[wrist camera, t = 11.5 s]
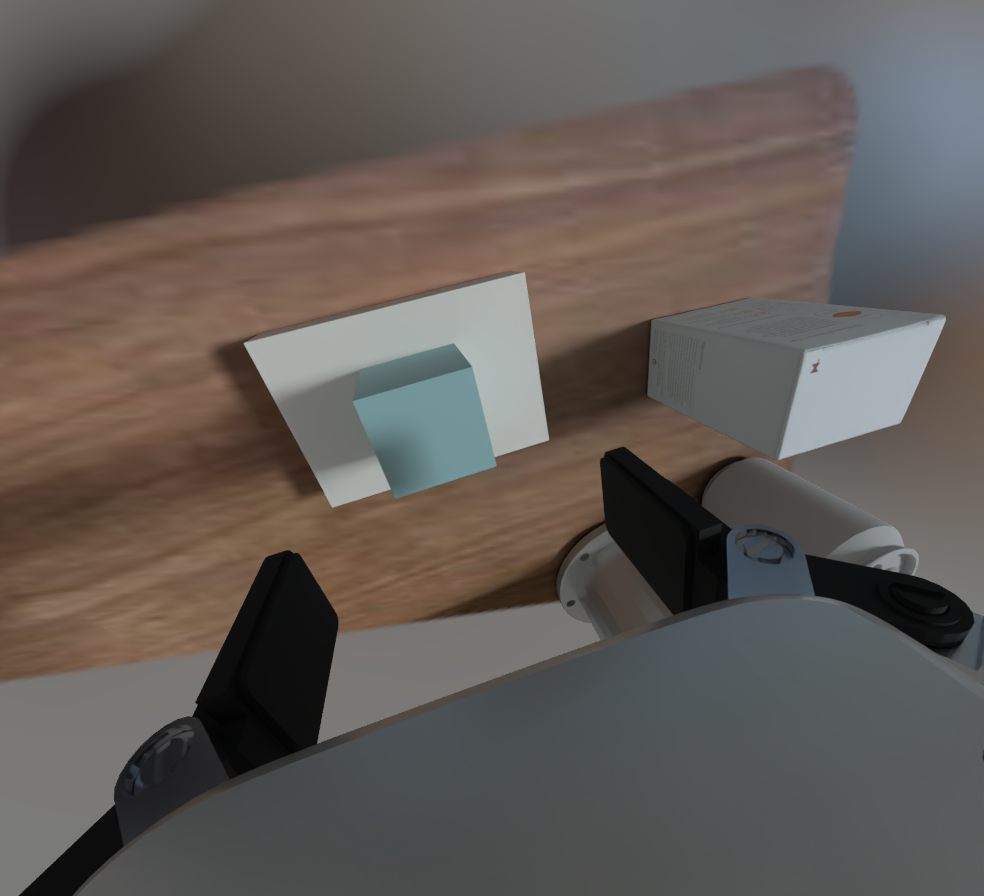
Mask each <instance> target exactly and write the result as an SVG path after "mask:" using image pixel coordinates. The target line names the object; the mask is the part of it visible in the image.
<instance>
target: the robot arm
mask: <svg viewBox="0 0 984 896" xmlns="http://www.w3.org/2000/svg"><path fill="white" fill-rule="evenodd" d="M600 467H601V479H602V490H603V502H604V513H605V524H603V525H601V526H599V527H598V528H596V529H594V530H593V531H591V532H590V533H589V534H587V535H586V536H585V537H584V538H582V539H581V540H580V541H579V542H578V543H577V544H576V545H575V546H574V547H573V548H572V550H571V551H570V552H569V554H568V555H567V557H566V558H565V559H564V561H563V563H562V565H561V568H560V570H559V573H558V577H557V586H556V590H557V594H558V598H559V600H560V602H561V604H562V606H563V608H564V609H565V610H566V611H567V613H568V614H569V615H571V616H572V617H574V618H575V619H577V620H580V621H583V622H588V623H592V625H593V627H594V629H595V631H596V633H597V634H598V636H599V638H600V640H601V641H599V642H595V643H592V644H590V645H587V646H584V647H582V648H578V649H576V650H573V651H570V652H567V653H564V654H562V655H559V656H556V657H553V658H550V659H548V660H545V661H542V662H539V663H537V664H534V665H531V666H528V667H526V668H523V669H520V670H517V671H514V672H512V673H509V674H506V675H503V676H501V677H498V678H495V679H492V680H490V681H487V682H484V683H481V684H479V685H476V686H473V687H470V688H468V689H465V690H462V691H459V692H457V693H454V694H451V695H448V696H446V697H443V698H440V699H437V700H435V701H432V702H429V703H426V704H424V705H421V706H418V707H416V708H413V709H410V710H407V711H405V712H402V713H399V714H397V715H394V716H391V717H388V718H386V719H383V720H380V721H378V722H375V723H372V724H370V725H367V726H364V727H361V728H359V729H356V730H354V731H350V732H348V733H345V734H343V735H340V736H337V737H334V738H332V739H329V740H326V741H324V742H321V743H319V744H317V740H318V735H319V729H320V724H321V718H322V713H323V708H324V702H325V697H326V691H327V686H328V680H329V675H330V669H331V663H332V658H333V653H334V647H335V642H336V636H337V631H338V617H337V614H336V612H335V610H334V609H333V607H332V606H331V604H330V602H329V601H328V599H327V598H326V596H325V594H324V593H323V591H322V589H321V588H320V586H319V585H318V583H317V581H316V580H315V578H314V577H313V575H312V573H311V572H310V570H309V568H308V567H307V565H306V564H305V562H304V560H303V559H302V557H301V556H300V554H298V553H294V554H293V553H292V552H291V551H290V550H287V551H283V552H280V553H277V554H274V555H270V556H268V557H266V558H265V560H264V561H263V563H262V566H261V568H260V570H259V572H258V574H257V576H256V578H255V580H254V582H253V584H252V586H251V588H250V590H249V592H248V595H247V597H246V599H245V601H244V603H243V605H242V607H241V609H240V611H239V613H238V615H237V617H236V619H235V621H234V624H233V626H232V628H231V630H230V632H229V634H228V636H227V638H226V640H225V642H224V644H223V646H222V648H221V650H220V653H219V655H218V657H217V659H216V661H215V663H214V665H213V667H212V669H211V671H210V673H209V676H208V678H207V679H206V682H205V684H204V686H203V688H202V690H201V692H200V694H199V696H198V698H197V700H196V704H198V706H197V708H196V710H195V712H194V714H193V716H192V717H189V716H187V717H184V718H180V719H177V720H175V721H173V722H171V723H169V724H167V725H165V726H164V727H163V728H161V729H160V730H159V731H158V732H156V733H155V734H153V735H152V736H151V737H150V738H149V739H148V740H147V741H146V742H144V743H143V744H142V745H141V746H140V747H139V748H138V750H137V751H136V752H135V754H134V755H133V756H132V757H131V758H130V759H129V761H128V763H127V764H126V765H125V767H124V769H123V770H122V772H121V773H120V775H119V778H118V780H117V783H116V786H115V789H114V802H115V805H114V806H113V807H112V808H111V809H110V810H109V811H107V813H106V814H105V815H103V816H102V817H101V818H100V819H99V820H98V821H97V822H96V823H95V824H94V825H93V826H92V827H91V828H90V829H89V830H87V831H86V832H85V833H84V834H83V835H82V836H81V837H80V838H79V839H78V840H77V841H76V842H75V843H74V844H73V845H72V846H71V847H70V848H68V849H67V850H66V851H65V852H64V853H63V854H62V855H61V856H60V857H59V858H58V859H57V860H56V861H55V862H54V863H53V864H52V865H51V866H50V867H48V868H47V869H46V870H45V871H44V872H43V873H42V874H41V875H40V876H39V877H38V878H37V879H36V880H35V881H34V882H33V883H32V884H31V885H29V887H28V888H26V889H25V890H24V891H23V892H22V893H21V894H20V895H19V896H984V616H981V615H979V614H976V613H973V612H972V611H971V610H970V609H969V607H968V606H967V604H966V603H965V602H963V601H962V600H961V599H960V598H959V597H957V596H956V595H955V594H954V593H952V592H950V591H948V590H947V589H945V588H943V587H942V586H940V585H937V584H935V583H933V582H930V581H928V580H925V579H923V578H919V577H916V576H912V575H908V574H903V573H898V572H893V571H888V570H883V569H878V568H873V567H868V566H863V565H858V564H853V563H848V562H842V561H837V560H832V559H827V558H822V557H817V556H812V555H807V554H805V553H804V550H803V548H802V547H801V545H800V543H799V542H798V541H796V540H795V539H794V538H793V537H792V536H790V535H788V534H787V533H785V532H783V531H781V530H778V529H776V528H773V527H769V526H764V525H753V524H749V525H742V526H739V527H736V528H734V529H731V528H730V527H729V526H727V525H726V524H725V523H723V522H722V521H721V520H720V519H718V518H717V517H716V516H714V515H713V514H712V513H710V512H709V511H708V510H707V509H705V508H704V507H703V506H701V505H700V504H699V503H698V502H696V501H695V500H694V499H692V498H691V497H690V496H689V495H687V494H686V493H685V492H683V491H682V490H681V489H680V488H678V487H677V486H676V485H674V484H673V483H672V482H670V481H669V480H667V479H665V478H664V477H662V476H661V475H660V474H659V473H657V472H656V471H655V470H653V469H652V468H651V467H650V466H648V465H647V464H646V463H644V462H643V461H642V460H641V459H639V458H638V457H637V456H636V455H634V454H633V453H632V452H630V451H629V450H628V449H627V448H625V447H620V448H617V449H614V450H611V451H607V452H606V453H605V455H604V458H601V460H600Z"/></svg>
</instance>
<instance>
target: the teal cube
mask: <svg viewBox="0 0 984 896" xmlns="http://www.w3.org/2000/svg"><path fill="white" fill-rule="evenodd" d="M353 404H354V406H355V408H356V411H357V413H358V415H359V417H360V420H361V422H362V424H363V427H364V429H365V431H366V433H367V436H368V438H369V440H370V443H371V445H372V447H373V449H374V452H375V454H376V456H377V459H378V461H379V463H380V466H381V468H382V470H383V472H384V475H385V477H386V479H387V482H388V484H389V486H390V488H391V491H392V493H393V495H394V498H395V499H396V498H399V497H402V496H405V495H409V494H412V493H415V492H418V491H421V490H424V489H427V488H430V487H433V486H437V485H440V484H443V483H446V482H449V481H452V480H455V479H458V478H461V477H465V476H468V475H471V474H474V473H477V472H480V471H483V470H486V469H489V468H492V467H496V466H497V465H496V461H495V457H494V453H493V449H492V445H491V441H490V437H489V433H488V429H487V425H486V420H485V416H484V412H483V408H482V404H481V400H480V396H479V392H478V388H477V384H476V380H475V376H474V372H473V368H472V366H471V365H470V363H469V362H468V361H467V359H466V358H465V357H464V355H463V354H462V353H461V352H460V350H459V349H458V348H457V346H456V345H455V344H454V343H453V344H449V345H446V346H442V347H439V348H435V349H431V350H428V351H424V352H421V353H417V354H413V355H410V356H406V357H403V358H399V359H395V360H392V361H388V362H385V363H381V364H378V365H374V366H370V367H367V368H363V369H361V371H360V375H359V379H358V382H357V386H356V390H355V393H354V397H353Z"/></svg>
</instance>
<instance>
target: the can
mask: <svg viewBox="0 0 984 896" xmlns="http://www.w3.org/2000/svg"><path fill="white" fill-rule="evenodd" d="M702 506H703V507H704V508H705V509H707V510H708V511H709V512H710V513H712V514H713V515H714V516H716V517H717V518H718V519H720V520H721V521H722V522H723V523H725V524H726V525H727V526H729V527H730V528H731V529H734V528H736V527H739V526H742V525H749V524H753V525H764V526H769V527H773V528H776V529H778V530H781V531H783V532H785V533H787V534H788V535H790V536H792V537H793V538H794V539H795V540H796V541H798V542H799V543H800V545H801V547H802V548H803V550H804V553H805V554H807V555H812V556H817V557H822V558H827V559H832V560H837V561H842V562H848V563H853V564H858V565H863V566H868V567H873V568H878V569H883V570H888V571H893V572H898V573H903V574H908V575H912V576H913V575H914V574H915V571H916V569H917V567H918V564H919V556H918V554H917V552H916V551H915V550H914V549H912V548H905V547H904V544H903V541H902V538H901V536H900V533H899V532H898V531H897V530H896V529H895V527H893V526H891V525H889V524H887V523H885V522H883V521H882V520H879V519H878V518H876V517H874V516H872V515H870V514H868V513H866V512H865V511H863V510H860V509H859V508H857V507H855V506H853V505H851V504H849V503H847V502H846V501H844V500H842V499H840V498H838V497H836V496H834V495H832V494H831V493H829V492H827V491H825V490H823V489H821V488H819V487H817V486H816V485H814V484H812V483H810V482H808V481H806V480H804V479H802V478H800V477H798V476H796V475H795V474H793V473H791V472H789V471H787V470H785V469H783V468H782V467H780V466H778V465H776V464H774V463H772V462H770V461H768V460H766V459H763V458H759V457H754V458H747V459H744V460H742V461H737V462H734V463H732V464H729V465H727V466H725V467H724V468H723V469H721V470H720V471H718V472H717V473H716V474H715V476H714V477H713V478H712V479H711V480H710V481H709V483H708V485H707V486H706V488H705V490H704V493H703V496H702Z"/></svg>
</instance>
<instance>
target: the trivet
mask: <svg viewBox="0 0 984 896" xmlns="http://www.w3.org/2000/svg"><path fill="white" fill-rule="evenodd" d="M453 343H454V344H455V345H456V346H457V348H458V349H459V350H460V352H461V353H462V354H463V355H464V357H465V358H466V359H467V361H468V362H469V363H470V365H471V366H472V368H473V372H474V376H475V380H476V384H477V388H478V392H479V396H480V400H481V404H482V408H483V412H484V416H485V420H486V425H487V429H488V433H489V437H490V441H491V445H492V449H493V453H494V457H496V456H500V455H503V454H506V453H509V452H513V451H516V450H519V449H522V448H525V447H529V446H532V445H535V444H538V443H541V442H545V441H548V440H549V436H548V429H547V422H546V415H545V408H544V401H543V395H542V388H541V381H540V374H539V367H538V360H537V353H536V347H535V340H534V333H533V326H532V319H531V312H530V306H529V299H528V292H527V285H526V278H525V272H517V271H509V272H505V273H501V274H497V275H493V276H489V277H485V278H481V279H477V280H473V281H469V282H465V283H461V284H457V285H453V286H449V287H445V288H441V289H437V290H433V291H429V292H425V293H421V294H417V295H413V296H409V297H405V298H401V299H397V300H393V301H389V302H385V303H381V304H377V305H373V306H369V307H365V308H361V309H357V310H353V311H349V312H345V313H341V314H337V315H333V316H329V317H325V318H321V319H317V320H313V321H309V322H305V323H301V324H297V325H293V326H289V327H285V328H282V329H278V330H274V331H270V332H266V333H262V334H259V335H257V336H255V337H254V338H252V339H250V340H248V341H246V342H245V343H244V345H245V347H246V349H247V351H248V353H249V354H250V356H251V358H252V360H253V362H254V364H255V365H256V367H257V369H258V371H259V373H260V375H261V377H262V378H263V380H264V382H265V384H266V386H267V388H268V390H269V391H270V393H271V395H272V397H273V399H274V401H275V402H276V404H277V406H278V408H279V410H280V412H281V414H282V415H283V417H284V419H285V421H286V423H287V425H288V427H289V428H290V430H291V432H292V434H293V436H294V438H295V440H296V441H297V443H298V445H299V447H300V449H301V451H302V452H303V454H304V456H305V458H306V460H307V462H308V464H309V465H310V467H311V469H312V471H313V473H314V475H315V477H316V478H317V480H318V482H319V484H320V486H321V488H322V489H323V491H324V493H325V495H326V497H327V499H328V501H329V502H330V504H331V506H332V507H335V506H339V505H342V504H345V503H348V502H352V501H355V500H358V499H361V498H364V497H368V496H371V495H374V494H377V493H381V492H384V491H387V490H390V489H391V488H390V486H389V484H388V482H387V479H386V477H385V475H384V472H383V470H382V468H381V466H380V463H379V461H378V459H377V456H376V454H375V452H374V449H373V447H372V445H371V443H370V440H369V438H368V436H367V433H366V431H365V429H364V427H363V424H362V422H361V420H360V417H359V415H358V413H357V411H356V408H355V406H354V404H353V397H354V393H355V390H356V386H357V382H358V379H359V375H360V371H361V369H363V368H367V367H370V366H374V365H378V364H381V363H385V362H388V361H392V360H395V359H399V358H403V357H406V356H410V355H413V354H417V353H421V352H424V351H428V350H431V349H435V348H439V347H442V346H446V345H449V344H453Z"/></svg>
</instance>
